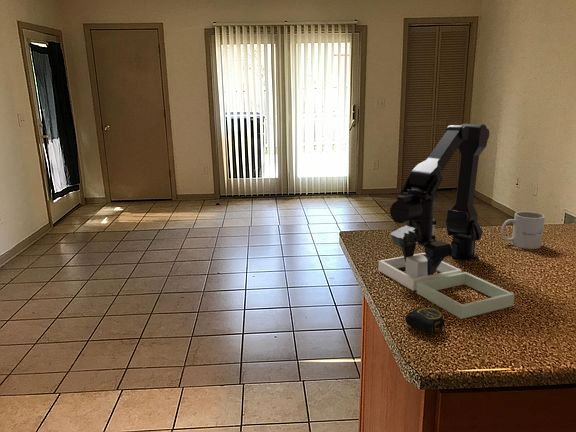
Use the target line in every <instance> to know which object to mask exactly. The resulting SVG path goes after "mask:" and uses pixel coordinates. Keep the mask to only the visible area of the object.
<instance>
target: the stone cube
mask: <svg viewBox="0 0 576 432" xmlns="http://www.w3.org/2000/svg"><path fill="white" fill-rule="evenodd" d="M404 273H406V274H407V275H409V276H411V277H413V278H418V277H423V276H428V273H427V258H426V257H425V256H423V255H417V256H411V257H406V267H405V271H404Z"/></svg>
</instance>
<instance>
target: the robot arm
mask: <svg viewBox="0 0 576 432" xmlns="http://www.w3.org/2000/svg"><path fill="white" fill-rule="evenodd" d="M489 138H490V130H489V128H487V126H486V124H484V123H483V124H482V123H479V124H478V123H461V124H450V125H447V127H446V129H445V133H444V134H443V136H442V137H441V138H440V140H439V142H438V143H437V145H436V146H435V147H434V148H433V150H432V152H431V153H430V154H429V156H428V157H427V158H426V159H425V160H423V161H421V162H420V163H418V164H416V165H415V167H414V168H413V169H411V171H410V173H409V174H408V177H407V179H406V181H405V183H404V185H403V187H402V189H401V192H400V195H398V196H397V199H396V201H394V202H393V203H392V205H391V206H390V208H389V214H390V216H391V219H392V220H393V221H394V222H395V223H397V224H404V223H406V224H405V225H404V226H401V227H398V228H394V229H393V231H391V233H390V236H391V237H390V238H391V239H392V243H393V245H394V246H397V247H399V248H400V249H401V251H402V256H404V259H405V262H406V257H411V256H413V255H414V254H415V250H416V246H417V245H419V246H422V247H424V249H423V250H424V253H425V254H424V256H425V257H426V258H427V273H428V275H433V274H435V273H436V271H437V270H436V269H437V268H438V266H439V264H440V263H441V262H442V261H443V260H444V259H445V258H446V257H447V258H448V257H449V256H451V257H453V258H456V259H458V260H460V261H466V260H470V259H471V260H472V259H476V258H479V255H478V254H475V249H476V241H480V240H481V239H482V236H483V230H482V228H481V226H480V225H479V223H478V212H477V210H476V208H475V206H474V200H475V191H476V182H477V175H478V168H479V167H478V166H479V158H480V156H481V154H482V153H483V151H484V150H485V149H486V148H487V145H488V140H489ZM457 150H458V151H459V153H460V161H459V170H458V177H457V186H456V187H457V188H456V195H455V196H456V197H455V204H454V205H453V206H452V207H451V208H448V210H447V213H446V221H445V224H446V225H445V226H446V235H447V236H450V237H452V238H451V242H450V243H449V242H446V241H444V240H437V241H435V240H436V235H435V234H434V235H433V234H432V227H433V225H435V226H436V225H437V220H435V219H434V207H435V199H437V198H439V194H438V193H437V192H436V191H437V190H438V189H439V187H440V185H441V183H442V181H443V179H444V175H443V171H444V170H445V168H446V166H447V165H448V163H449V162H450V160H451V158H452V157H453V156H454V155H455V154H456V153H455V152H456V151H457ZM433 219H434V220H433ZM433 239H434V240H433ZM431 240H433V241H431Z"/></svg>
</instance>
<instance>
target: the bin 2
mask: <svg viewBox="0 0 576 432" xmlns="http://www.w3.org/2000/svg"><path fill="white" fill-rule="evenodd" d="M463 285H466V286H468V287H469V288H472V289H474V290H476V291H478V292H480V293H482V294H484V295H486V296H488V297H489V298H485V299H480V300H476V301H472V302H466V303H463V304H462V303H461V302H458V301H457V300H455V299H453V298H451V297H450V296H448V295H446V294H444V293H442V292H440V291H439V290H443V289H448V288H453V287H457V286H463ZM416 294H418V295H419V296H421V297H422V298H425V299H426V300H427V301H429V302H431V303H433V304H434V305H437V306H438V307H439V308H441V309H443V310H445V311H446V312H449V313H450V314H452V315H453V316H455V317H457V318H459V319H460V320H463V319H467V318H470V317H471V318H472V317H474V316H475V317H476V316H478V315H483V314H486V313H492V312H494V311H499V310H502V309H506V308H511V307H513V306H514V301H515V300H514V299H515V293H512V292H510V291H508V290H507V289H504V288H502V287H500V286H498V285H495V284H493V283H492V282H489V281H487V280H485V279H482V278H480V277H478V276H475V275H473V274H471V273H470V272H466V271H462V273H458V274H453V275H448V276H443V277H438V278H433V279H429V280H424V281H419V282H417V290H416Z"/></svg>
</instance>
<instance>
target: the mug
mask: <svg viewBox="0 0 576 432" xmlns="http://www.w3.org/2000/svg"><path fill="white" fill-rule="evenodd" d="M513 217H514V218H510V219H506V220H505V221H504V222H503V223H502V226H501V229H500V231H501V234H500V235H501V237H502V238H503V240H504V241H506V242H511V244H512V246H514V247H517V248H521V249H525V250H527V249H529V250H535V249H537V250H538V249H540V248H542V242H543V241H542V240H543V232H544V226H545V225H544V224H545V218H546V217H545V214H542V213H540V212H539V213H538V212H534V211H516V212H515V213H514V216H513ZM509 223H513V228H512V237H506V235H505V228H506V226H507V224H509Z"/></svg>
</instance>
